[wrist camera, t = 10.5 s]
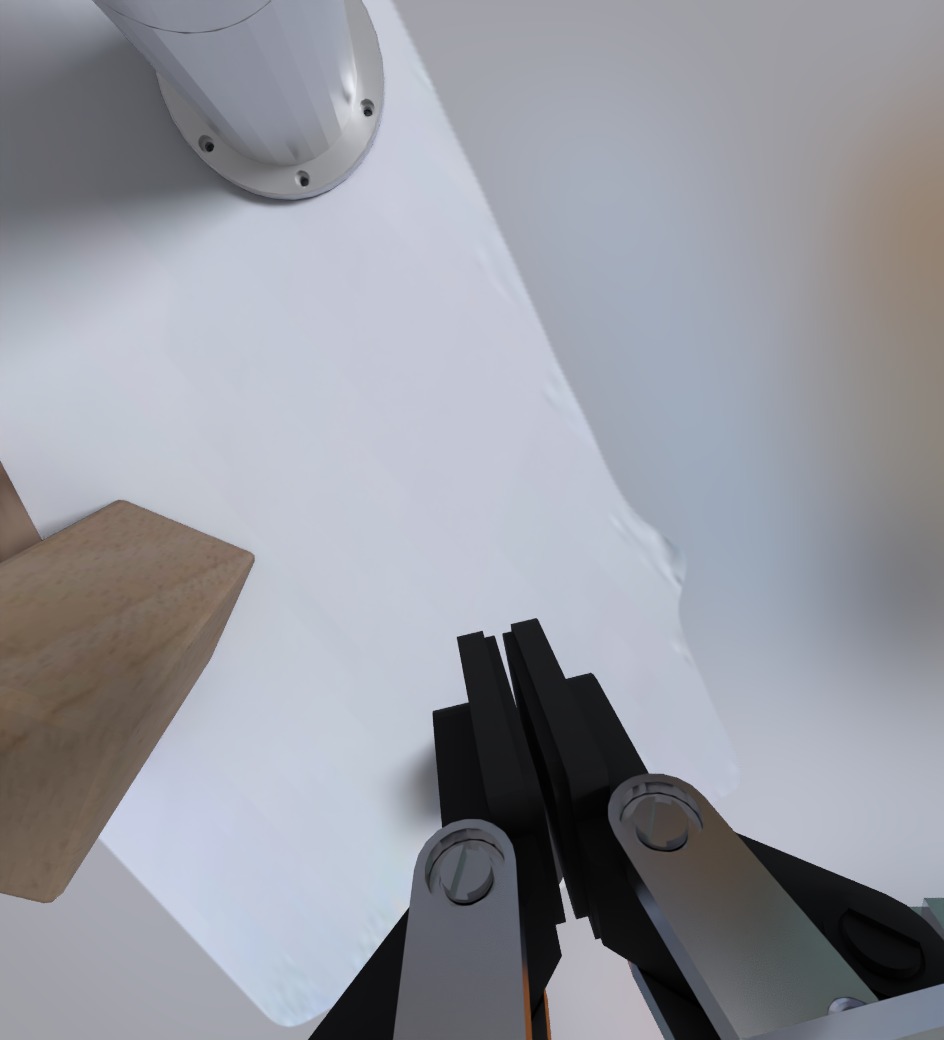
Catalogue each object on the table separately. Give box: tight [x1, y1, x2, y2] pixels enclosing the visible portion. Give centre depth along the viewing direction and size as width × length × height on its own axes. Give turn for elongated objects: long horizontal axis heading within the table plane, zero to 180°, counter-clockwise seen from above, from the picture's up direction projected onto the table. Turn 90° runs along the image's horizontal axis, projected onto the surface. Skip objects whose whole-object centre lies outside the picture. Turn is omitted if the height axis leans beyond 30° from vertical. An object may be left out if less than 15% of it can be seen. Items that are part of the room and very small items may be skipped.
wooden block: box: [0, 500, 255, 903], centre depth 31 cm, size 10×10×20 cm
